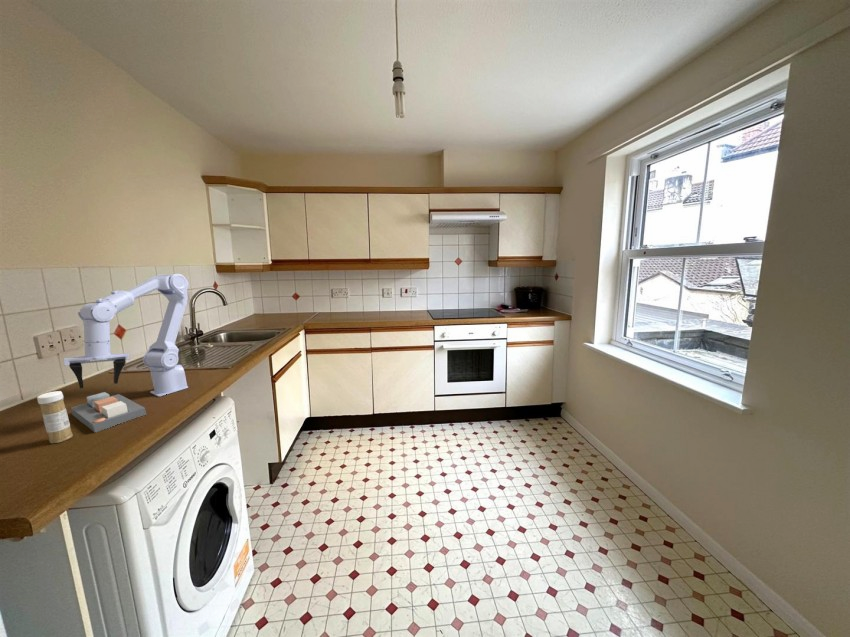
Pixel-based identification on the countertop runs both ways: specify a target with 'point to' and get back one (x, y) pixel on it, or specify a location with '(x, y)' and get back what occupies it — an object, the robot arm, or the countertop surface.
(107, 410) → the off-white button
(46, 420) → the spice jar
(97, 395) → the grey button
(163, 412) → the countertop surface
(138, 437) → the countertop surface
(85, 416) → the console
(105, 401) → the terracotta button
